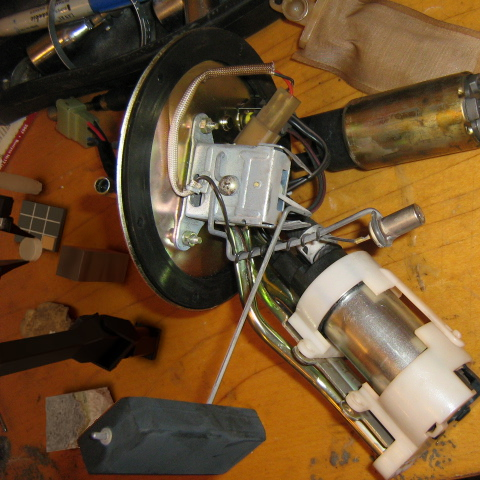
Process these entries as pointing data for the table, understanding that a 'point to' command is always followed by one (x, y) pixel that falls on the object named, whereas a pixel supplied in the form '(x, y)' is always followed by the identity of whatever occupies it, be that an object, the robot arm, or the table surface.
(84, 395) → the geological specimen
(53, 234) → the board
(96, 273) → the stand
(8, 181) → the handle
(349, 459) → the table surface
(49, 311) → the decorative rock
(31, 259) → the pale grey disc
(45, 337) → the robot arm
